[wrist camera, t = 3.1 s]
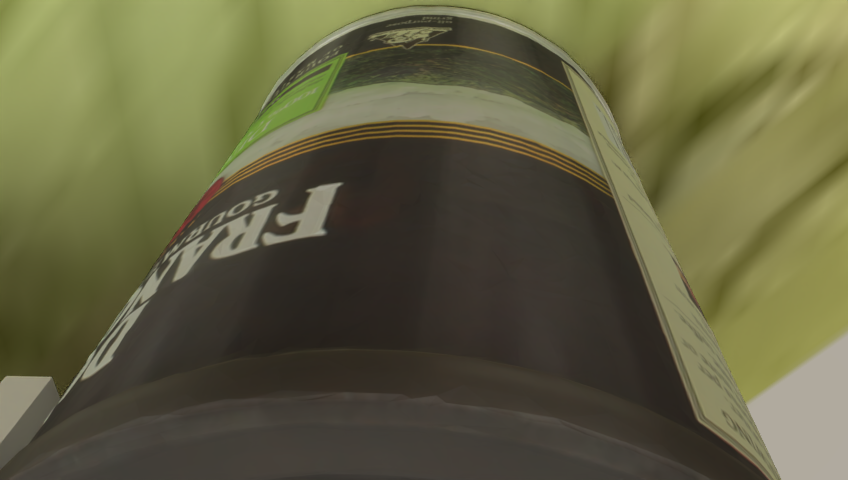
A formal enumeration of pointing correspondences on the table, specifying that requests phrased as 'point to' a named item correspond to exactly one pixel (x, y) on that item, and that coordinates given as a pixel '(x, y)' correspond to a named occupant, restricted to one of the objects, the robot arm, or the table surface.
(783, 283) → the table surface
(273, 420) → the coffee can
